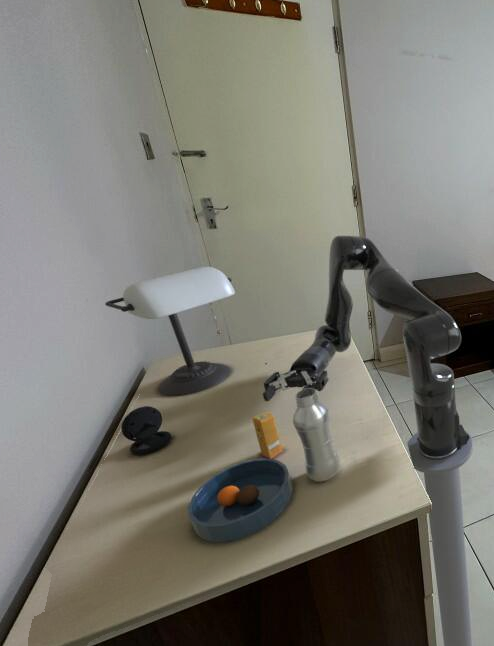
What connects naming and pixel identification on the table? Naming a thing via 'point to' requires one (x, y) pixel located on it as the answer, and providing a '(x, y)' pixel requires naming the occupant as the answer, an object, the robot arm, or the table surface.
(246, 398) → the table surface
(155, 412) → the webcam
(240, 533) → the bowl
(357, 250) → the robot arm
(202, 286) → the lamp
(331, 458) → the silver bottle
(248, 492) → the brown ball
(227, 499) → the orange ball
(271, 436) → the supplement box
